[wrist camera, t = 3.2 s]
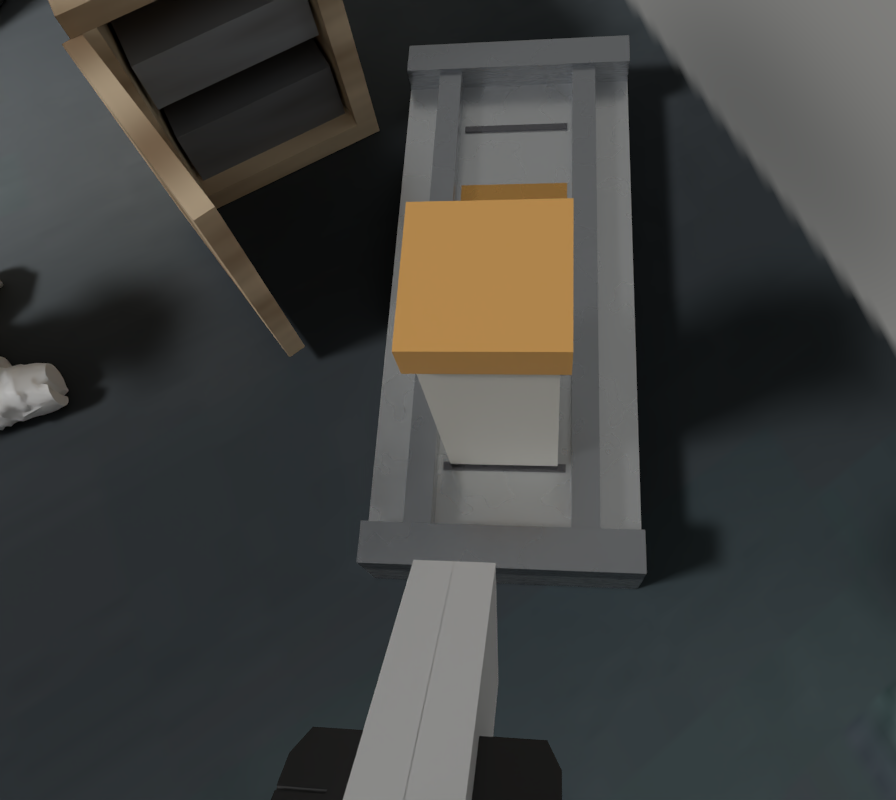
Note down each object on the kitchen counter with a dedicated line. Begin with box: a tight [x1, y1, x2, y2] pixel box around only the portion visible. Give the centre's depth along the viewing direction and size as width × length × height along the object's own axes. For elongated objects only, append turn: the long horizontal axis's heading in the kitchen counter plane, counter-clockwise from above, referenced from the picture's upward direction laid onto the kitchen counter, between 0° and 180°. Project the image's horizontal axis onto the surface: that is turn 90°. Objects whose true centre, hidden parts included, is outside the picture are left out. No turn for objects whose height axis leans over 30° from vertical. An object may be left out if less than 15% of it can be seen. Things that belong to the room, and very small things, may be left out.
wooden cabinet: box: [48, 0, 380, 357], centre depth 34 cm, size 20×10×12 cm, turn 27°
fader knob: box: [392, 198, 574, 466], centre depth 26 cm, size 5×5×10 cm
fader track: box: [357, 35, 647, 589], centre depth 33 cm, size 24×10×3 cm, turn 177°
